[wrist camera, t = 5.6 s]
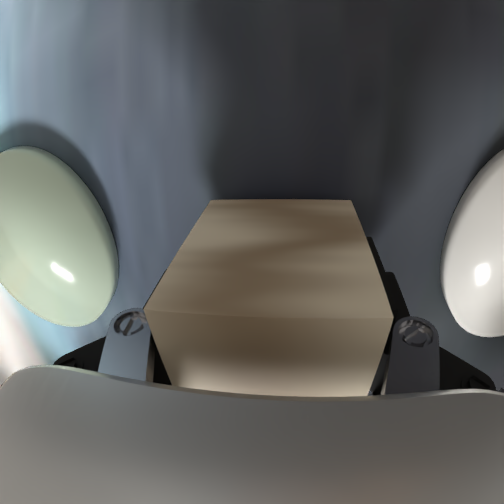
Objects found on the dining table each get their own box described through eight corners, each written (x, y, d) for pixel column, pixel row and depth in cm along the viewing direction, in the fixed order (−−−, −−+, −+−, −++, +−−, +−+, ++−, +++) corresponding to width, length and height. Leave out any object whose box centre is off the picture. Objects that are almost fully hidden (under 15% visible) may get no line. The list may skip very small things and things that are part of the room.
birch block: (350, 200, 11) (393, 318, 6) (339, 309, 13) (350, 434, 8) (211, 199, 11) (143, 309, 6) (225, 306, 14) (190, 425, 9)
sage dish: (88, 125, 11) (74, 130, 10) (142, 325, 17) (136, 337, 16) (-34, 165, 12) (-45, 171, 12) (20, 306, 18) (13, 315, 17)
